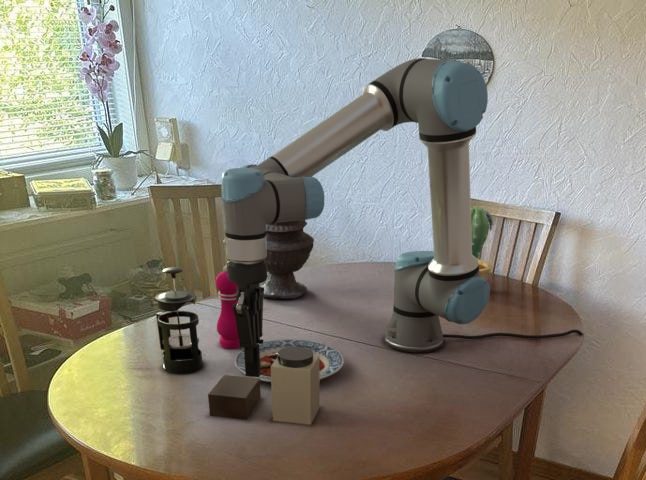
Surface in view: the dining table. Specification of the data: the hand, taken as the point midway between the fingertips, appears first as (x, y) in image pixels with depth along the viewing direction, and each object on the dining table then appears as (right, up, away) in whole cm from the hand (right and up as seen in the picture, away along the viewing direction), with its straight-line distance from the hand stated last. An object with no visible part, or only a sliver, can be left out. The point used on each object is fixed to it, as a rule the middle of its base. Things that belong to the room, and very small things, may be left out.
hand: (253, 375), depth 144 cm
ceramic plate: (+5, +5, +23) cm, 24 cm away
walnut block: (-4, -6, +5) cm, 9 cm away
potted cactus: (+55, +39, +80) cm, 105 cm away
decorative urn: (-2, +35, +71) cm, 79 cm away
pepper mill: (-11, +13, +35) cm, 39 cm away
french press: (-20, +5, +22) cm, 31 cm away
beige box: (+3, -6, +3) cm, 8 cm away
